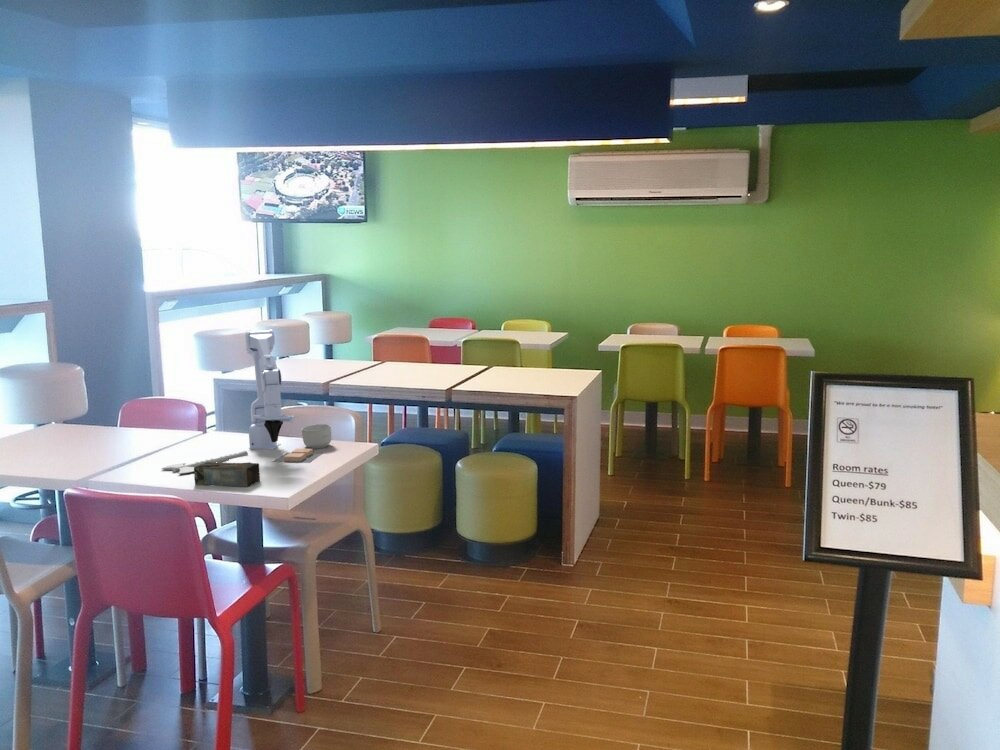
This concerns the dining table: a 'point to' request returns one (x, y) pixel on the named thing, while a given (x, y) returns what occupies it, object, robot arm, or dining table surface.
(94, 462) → the dining table surface
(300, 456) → the tile
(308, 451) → the tile
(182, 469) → the axe
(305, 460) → the mat
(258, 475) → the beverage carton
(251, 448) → the robot arm
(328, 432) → the teacup
